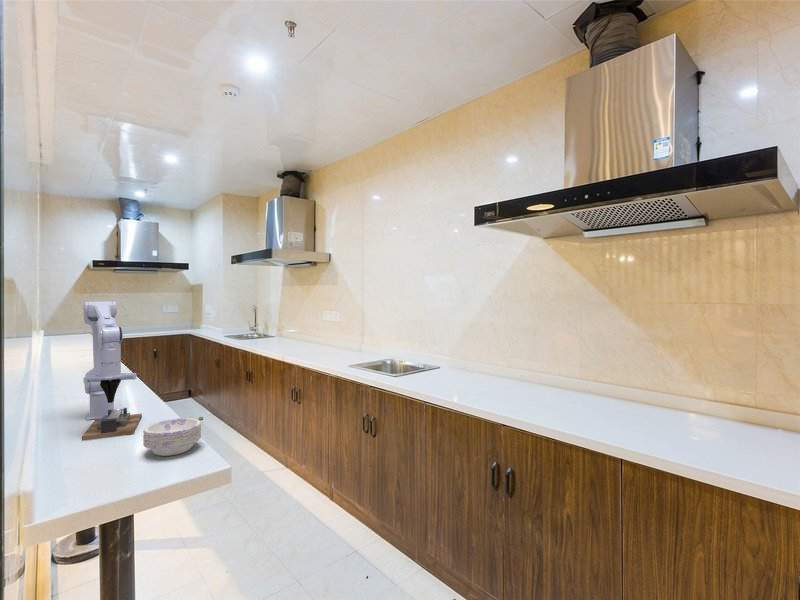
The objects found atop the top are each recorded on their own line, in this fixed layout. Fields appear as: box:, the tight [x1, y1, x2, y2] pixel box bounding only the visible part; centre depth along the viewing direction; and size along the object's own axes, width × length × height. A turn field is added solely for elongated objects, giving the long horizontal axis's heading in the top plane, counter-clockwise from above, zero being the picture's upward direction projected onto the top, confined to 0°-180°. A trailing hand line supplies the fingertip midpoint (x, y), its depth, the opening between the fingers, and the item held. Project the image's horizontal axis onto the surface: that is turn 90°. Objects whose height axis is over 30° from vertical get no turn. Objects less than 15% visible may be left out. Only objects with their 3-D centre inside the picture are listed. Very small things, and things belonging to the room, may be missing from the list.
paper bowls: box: [142, 417, 202, 457], centre depth 122 cm, size 15×15×8 cm
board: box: [81, 413, 143, 442], centre depth 141 cm, size 20×14×2 cm
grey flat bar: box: [107, 408, 123, 420], centre depth 141 cm, size 14×3×1 cm, turn 26°
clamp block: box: [97, 407, 131, 433], centre depth 140 cm, size 16×8×4 cm, turn 26°
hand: (110, 402), depth 137 cm, fingers closed
